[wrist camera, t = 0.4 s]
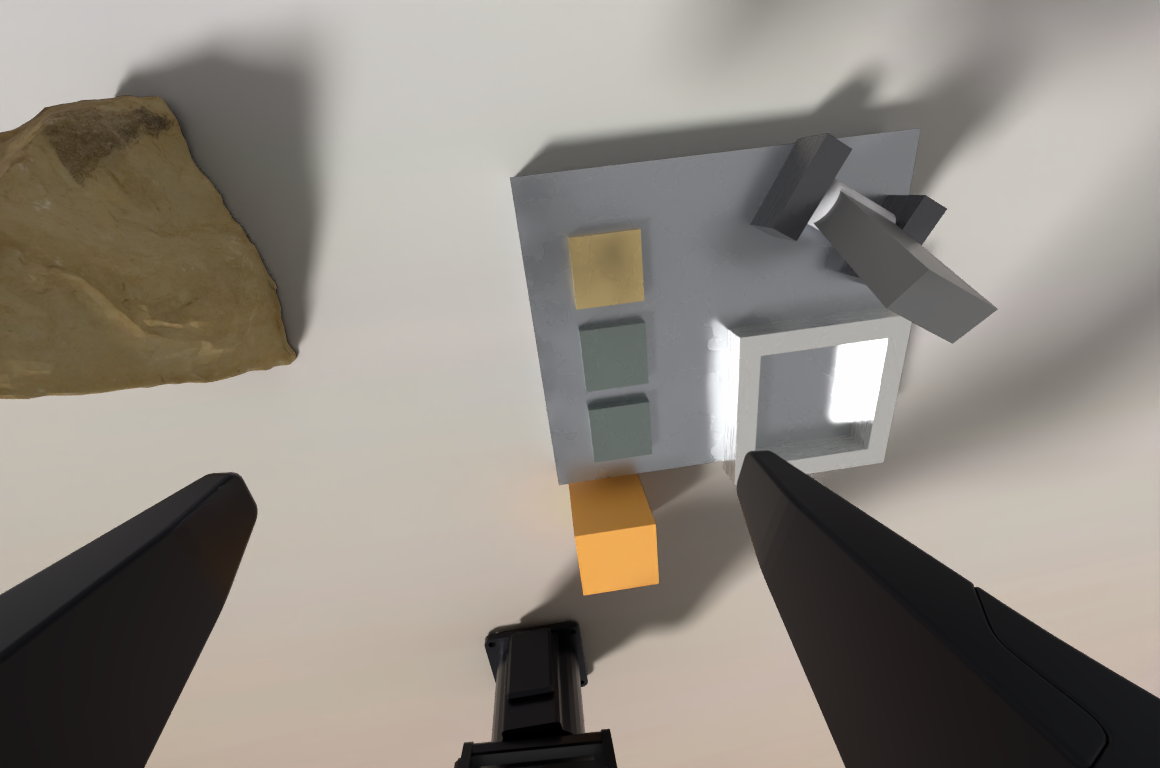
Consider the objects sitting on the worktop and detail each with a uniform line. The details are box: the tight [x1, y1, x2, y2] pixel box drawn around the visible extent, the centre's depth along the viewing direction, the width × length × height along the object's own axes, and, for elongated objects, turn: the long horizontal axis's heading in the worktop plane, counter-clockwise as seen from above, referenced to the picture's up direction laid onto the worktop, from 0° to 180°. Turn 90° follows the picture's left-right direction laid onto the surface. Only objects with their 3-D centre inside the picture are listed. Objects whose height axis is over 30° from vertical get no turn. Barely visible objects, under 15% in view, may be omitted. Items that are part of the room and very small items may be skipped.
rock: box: [0, 95, 296, 399], centre depth 16 cm, size 11×9×10 cm
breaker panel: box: [510, 128, 947, 485], centre depth 21 cm, size 16×17×4 cm
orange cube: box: [569, 473, 659, 595], centre depth 25 cm, size 4×4×5 cm
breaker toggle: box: [808, 179, 997, 344], centre depth 16 cm, size 2×3×8 cm, turn 65°
